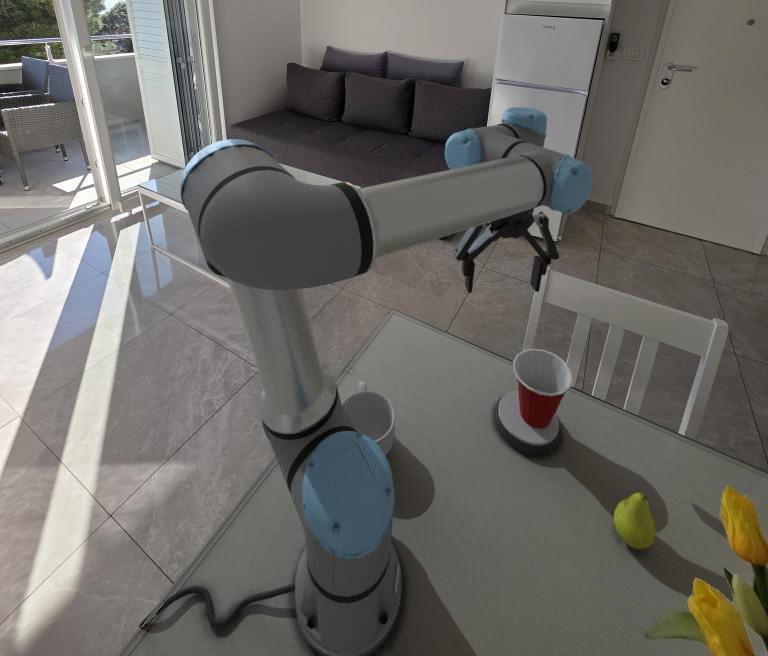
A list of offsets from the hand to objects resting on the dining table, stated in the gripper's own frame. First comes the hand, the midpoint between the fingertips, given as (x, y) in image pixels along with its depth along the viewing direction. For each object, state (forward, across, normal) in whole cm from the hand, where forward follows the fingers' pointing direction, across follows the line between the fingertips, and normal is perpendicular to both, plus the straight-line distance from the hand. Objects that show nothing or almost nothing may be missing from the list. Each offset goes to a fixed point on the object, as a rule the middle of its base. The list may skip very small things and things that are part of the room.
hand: (501, 288), depth 86 cm
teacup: (+27, +27, +10) cm, 39 cm away
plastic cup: (+24, -7, +9) cm, 26 cm away
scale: (+27, -6, +8) cm, 29 cm away
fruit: (+27, -15, +28) cm, 42 cm away
